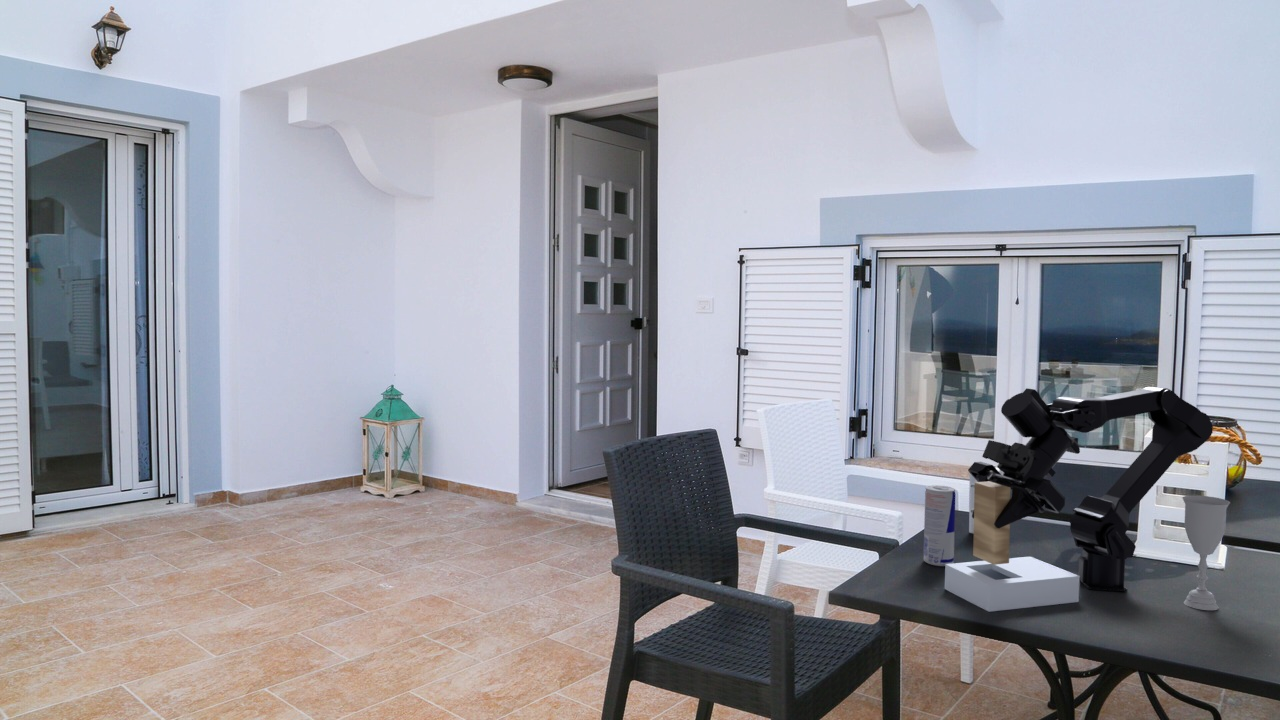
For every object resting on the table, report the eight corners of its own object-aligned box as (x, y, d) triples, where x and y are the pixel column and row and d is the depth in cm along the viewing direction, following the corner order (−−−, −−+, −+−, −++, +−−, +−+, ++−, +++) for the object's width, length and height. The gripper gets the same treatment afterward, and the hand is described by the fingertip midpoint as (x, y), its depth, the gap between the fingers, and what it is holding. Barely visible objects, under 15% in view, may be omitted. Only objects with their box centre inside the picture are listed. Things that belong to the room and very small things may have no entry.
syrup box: (995, 537, 192) (997, 471, 192) (967, 533, 196) (969, 468, 195) (1003, 532, 197) (1005, 467, 196) (976, 527, 201) (978, 464, 200)
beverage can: (955, 568, 170) (957, 491, 169) (925, 566, 171) (927, 489, 170) (951, 559, 176) (953, 485, 175) (921, 558, 177) (923, 483, 176)
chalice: (1225, 615, 145) (1230, 506, 144) (1177, 607, 149) (1181, 501, 147) (1224, 602, 151) (1229, 498, 150) (1177, 595, 155) (1182, 493, 154)
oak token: (987, 554, 156) (989, 481, 155) (1008, 563, 151) (1010, 487, 150) (973, 555, 155) (974, 482, 154) (993, 564, 150) (995, 488, 149)
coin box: (1029, 580, 163) (1030, 556, 162) (1078, 601, 151) (1079, 575, 151) (944, 589, 158) (945, 564, 157) (988, 611, 146) (989, 585, 146)
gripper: (978, 417, 161) (924, 481, 159) (1052, 431, 143) (993, 504, 141) (1013, 457, 164) (961, 521, 162) (1090, 476, 146) (1033, 548, 144)
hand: (984, 522), depth 152 cm, fingers closed on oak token, 5 cm apart
